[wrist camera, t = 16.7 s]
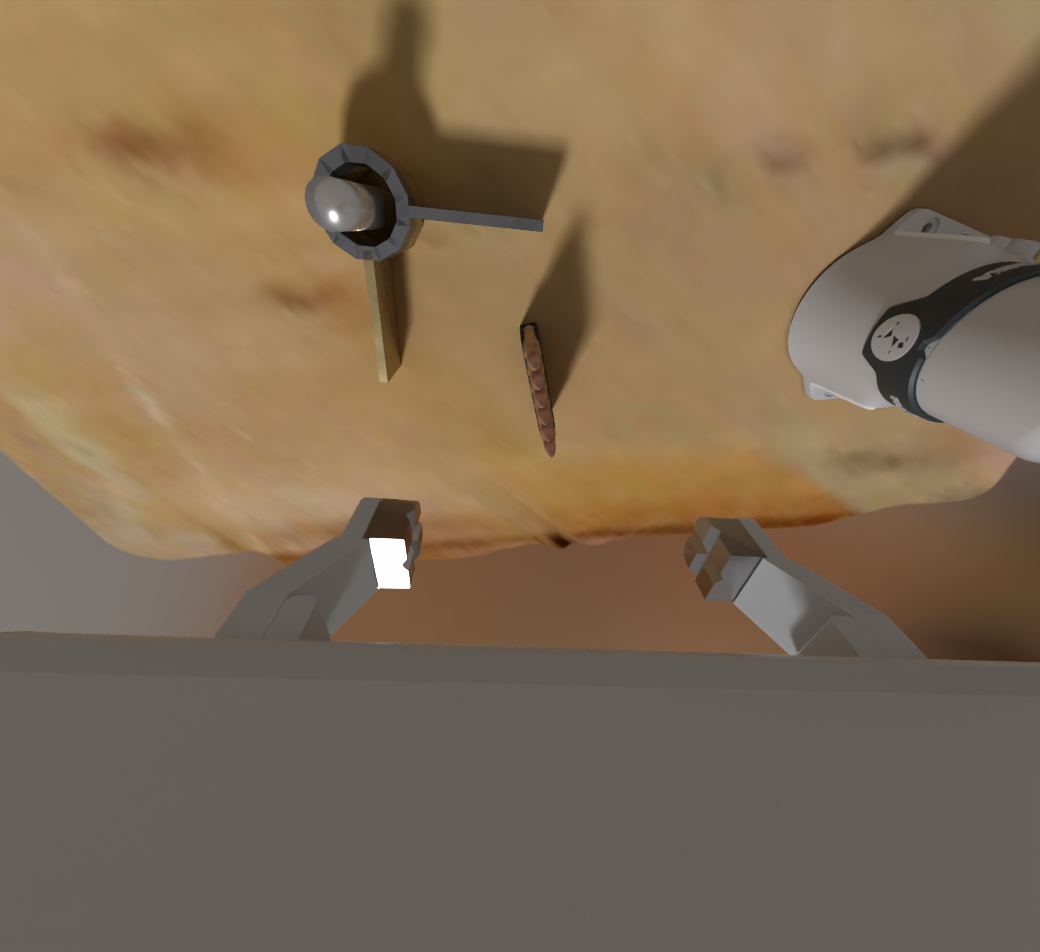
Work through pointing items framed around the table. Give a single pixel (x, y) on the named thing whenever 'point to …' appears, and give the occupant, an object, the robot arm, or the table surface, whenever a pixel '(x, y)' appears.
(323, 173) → the steel leaf
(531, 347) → the ammunition clip
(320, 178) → the hinge pin
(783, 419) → the table surface
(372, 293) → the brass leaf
